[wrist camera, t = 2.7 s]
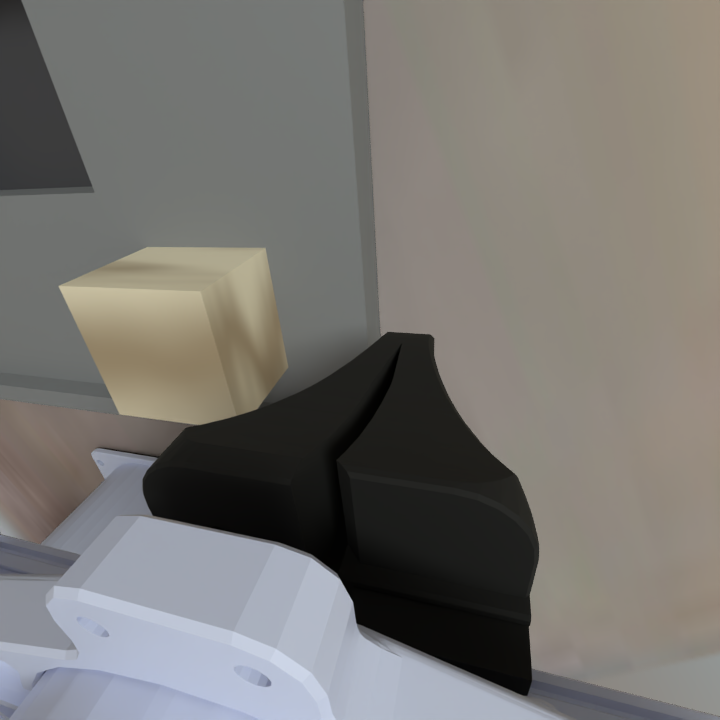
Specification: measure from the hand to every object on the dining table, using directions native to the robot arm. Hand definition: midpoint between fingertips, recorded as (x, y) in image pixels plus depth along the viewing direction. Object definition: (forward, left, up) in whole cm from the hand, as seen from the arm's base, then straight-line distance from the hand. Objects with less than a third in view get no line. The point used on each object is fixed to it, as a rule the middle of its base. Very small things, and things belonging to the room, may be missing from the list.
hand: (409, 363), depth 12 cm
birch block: (0, +8, -3) cm, 9 cm away
